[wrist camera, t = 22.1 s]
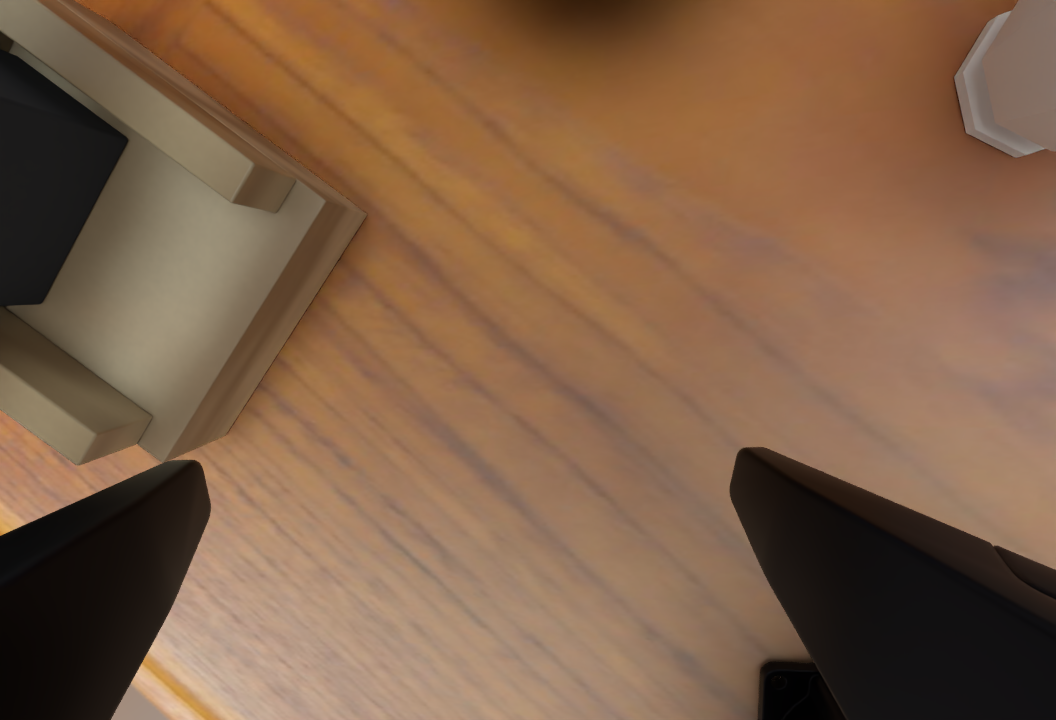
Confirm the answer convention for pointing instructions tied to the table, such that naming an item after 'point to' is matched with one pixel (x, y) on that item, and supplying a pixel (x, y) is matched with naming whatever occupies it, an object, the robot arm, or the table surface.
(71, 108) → the black rectangular block
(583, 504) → the table surface
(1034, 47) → the cup
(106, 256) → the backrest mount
